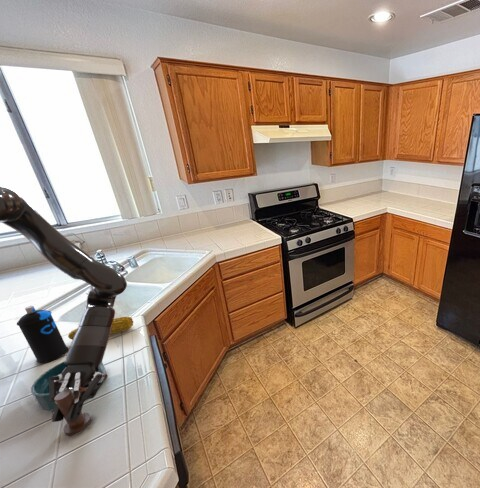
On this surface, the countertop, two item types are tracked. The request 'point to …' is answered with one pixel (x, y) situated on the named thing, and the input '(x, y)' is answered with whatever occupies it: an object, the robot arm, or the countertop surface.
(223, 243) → the countertop surface
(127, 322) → the food
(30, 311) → the aerosol can
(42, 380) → the bowl
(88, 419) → the brown wooden peg
